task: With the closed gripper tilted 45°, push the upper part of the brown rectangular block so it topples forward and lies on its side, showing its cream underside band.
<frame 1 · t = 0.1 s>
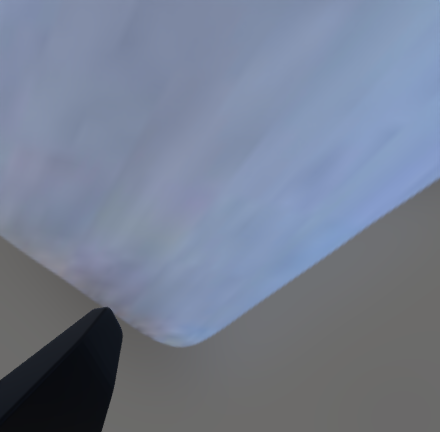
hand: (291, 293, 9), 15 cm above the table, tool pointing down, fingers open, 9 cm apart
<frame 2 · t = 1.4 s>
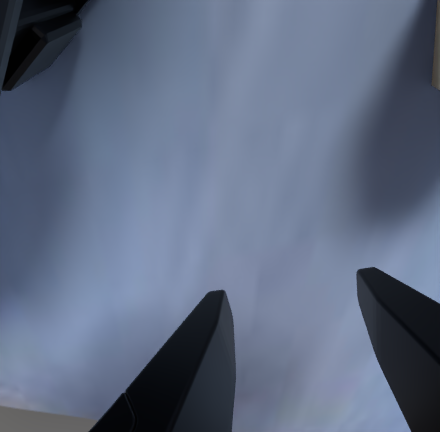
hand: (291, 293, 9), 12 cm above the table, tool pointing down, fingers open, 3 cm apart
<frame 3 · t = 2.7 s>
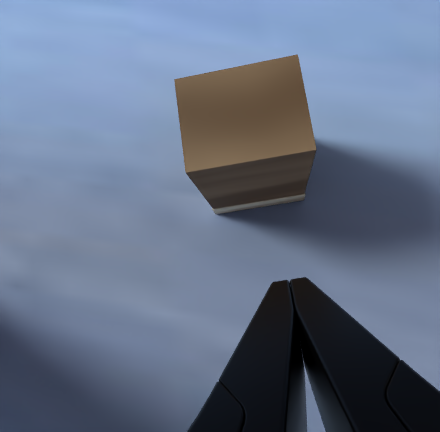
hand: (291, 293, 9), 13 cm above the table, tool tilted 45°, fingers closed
brown rectangular block: (253, 173, 23), on the table
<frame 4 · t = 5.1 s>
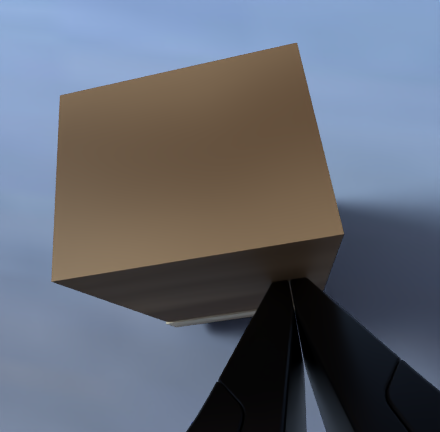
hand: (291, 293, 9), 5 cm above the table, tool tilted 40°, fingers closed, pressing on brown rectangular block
brown rectangular block: (238, 261, 15), on the table, tilted 14°, touching gripper
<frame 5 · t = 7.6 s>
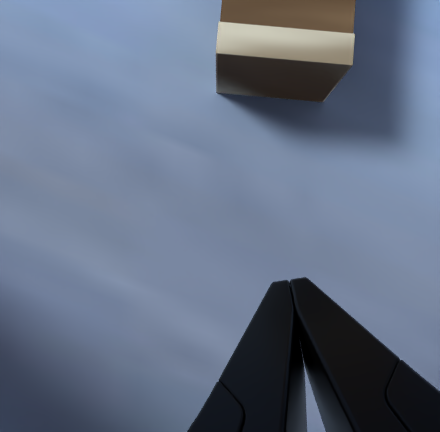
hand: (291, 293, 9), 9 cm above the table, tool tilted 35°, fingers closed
brown rectangular block: (276, 80, 17), point 2 cm above the table, tilted 90°
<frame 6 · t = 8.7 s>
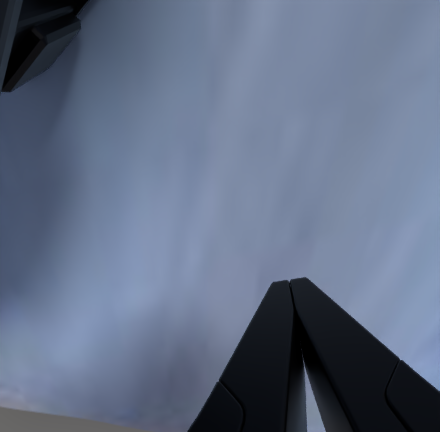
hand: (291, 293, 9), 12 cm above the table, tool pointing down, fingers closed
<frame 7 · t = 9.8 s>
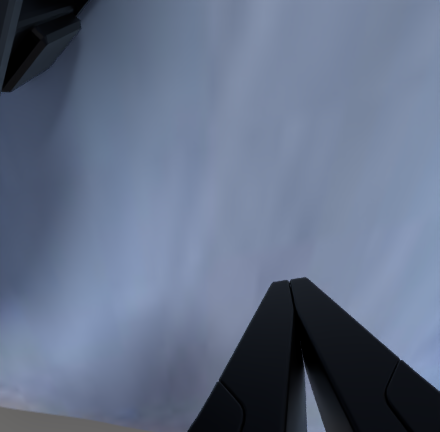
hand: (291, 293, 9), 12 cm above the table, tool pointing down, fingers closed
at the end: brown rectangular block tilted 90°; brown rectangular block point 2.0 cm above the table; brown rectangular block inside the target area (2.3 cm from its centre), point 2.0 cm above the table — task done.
